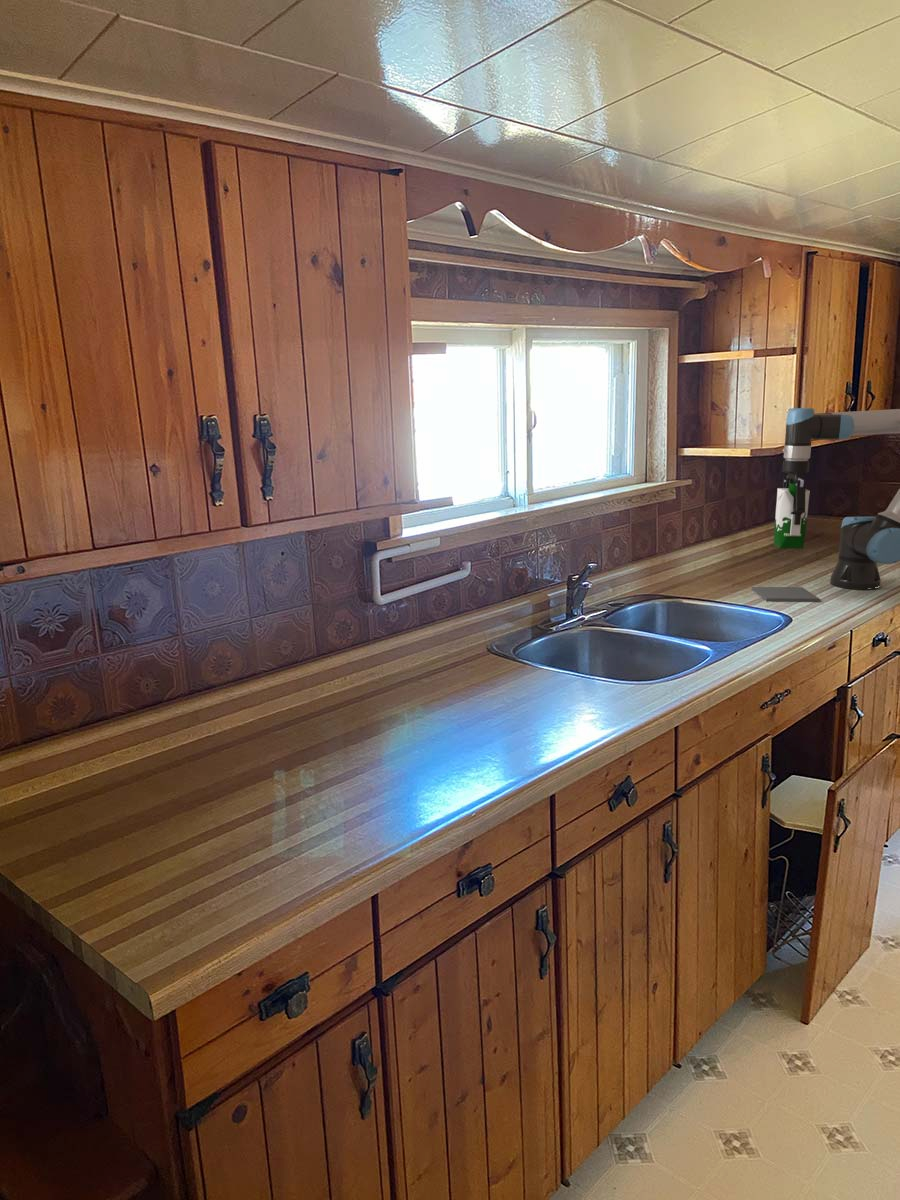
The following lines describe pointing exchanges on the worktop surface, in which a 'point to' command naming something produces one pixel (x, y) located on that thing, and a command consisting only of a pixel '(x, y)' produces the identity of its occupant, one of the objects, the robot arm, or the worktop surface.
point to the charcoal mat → (785, 594)
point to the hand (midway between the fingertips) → (789, 532)
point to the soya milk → (788, 519)
